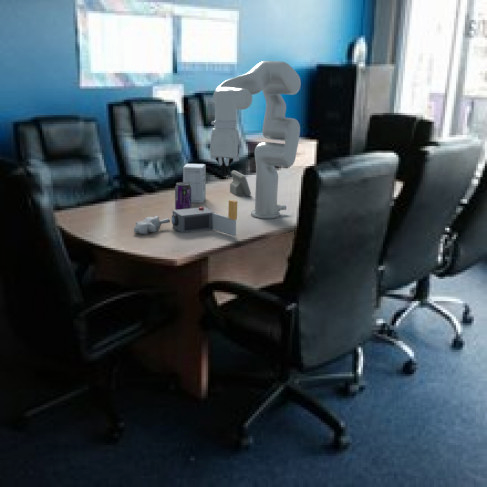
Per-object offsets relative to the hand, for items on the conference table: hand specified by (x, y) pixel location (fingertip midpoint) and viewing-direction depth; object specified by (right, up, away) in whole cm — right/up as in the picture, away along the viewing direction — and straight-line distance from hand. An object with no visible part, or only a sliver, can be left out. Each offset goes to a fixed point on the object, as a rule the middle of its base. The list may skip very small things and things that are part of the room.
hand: (224, 175), depth 212 cm
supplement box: (-16, -5, +62) cm, 64 cm away
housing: (-13, -19, +17) cm, 29 cm away
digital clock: (+5, 0, +79) cm, 79 cm away
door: (-1, -21, +12) cm, 24 cm away
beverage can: (-20, -10, +44) cm, 49 cm away
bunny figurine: (-29, -20, +13) cm, 38 cm away
